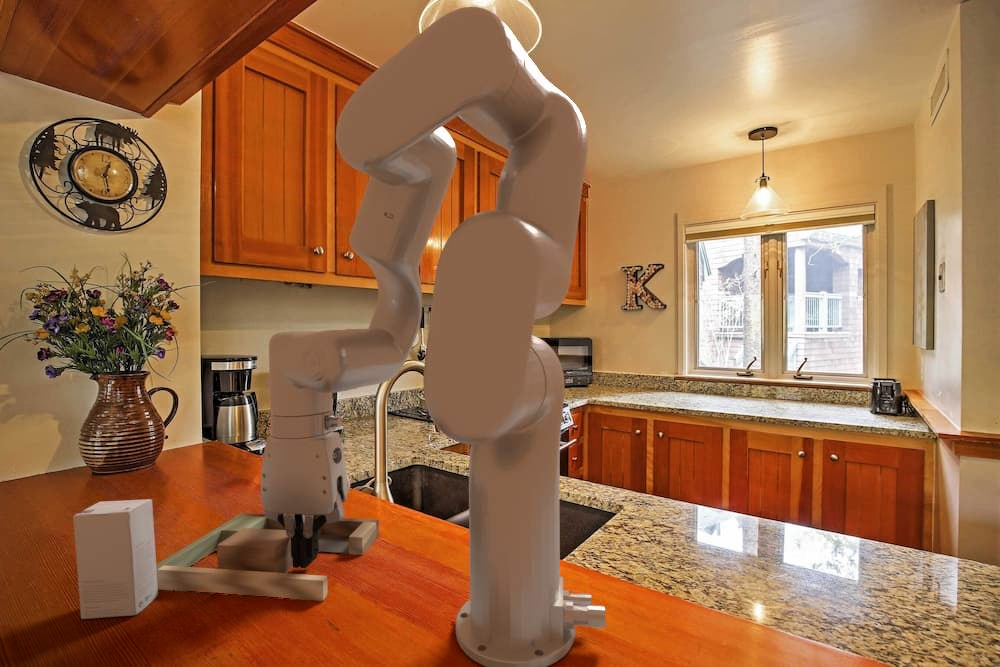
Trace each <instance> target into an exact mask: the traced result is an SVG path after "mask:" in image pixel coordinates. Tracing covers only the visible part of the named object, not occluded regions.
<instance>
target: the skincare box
mask: <svg viewBox="0 0 1000 667" xmlns="http://www.w3.org/2000/svg"><path fill="white" fill-rule="evenodd" d="M153 508H154V507H153V499H151V498H150V499H149V498H148V499H131V500H130V499H129V500H127V499H126V500H107V501H98V502H97V503H94V504H93V505H91V506H89V507H87V508H84V509H83V510H81V511H80V512H77V513H76V514H74V515H73V516H72V520H73V521H72V522H73V530H74V534H73V535H74V541H75V543H74V544H75V556H76V569H77V571H76V572H77V581H78V582H77V583H78V584H77V585H78V595H79V596H78V597H79V610H80V612H79V613H80V618H81V619H82V620H86V619H100V618H101V619H102V618H103V619H104V618H114V617H129V616H136V615H138V614H139V613H141V612H142V611H143V610H144V609H145V608H146V607H148V606H149V605H150V604H151V603H152V602H153V601H154V600H155V599H156V598H157V597H158V596H159V589H158V586H157V569H156V564H157V558H156V557H157V556H156V553H157V552H156V542H155V526H154V514H153V513H154V511H153V510H154V509H153Z"/></svg>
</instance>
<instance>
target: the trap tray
mask: <svg viewBox="0 0 1000 667" xmlns="http://www.w3.org/2000/svg"><path fill="white" fill-rule="evenodd" d="M379 521H380V520H379V519H377V518H376V519H375V518H374V519H370V518H353V517H352V518H351V517H343V518H342V519H341V520H339V521H338V522H333V523H328V524H324V525H323V526H322V528H321V529H319V530H318V541H319V551H320V552H332V553H331V554H336V553H341V554H340V555H356V556H357V555H358V556H363V555H364V554H365V553H366V552H367V551H368V549H369V548H370V547H371V546H372V545H373V543H375V541H376V540H377V539H378V537H379V536H380V522H379ZM243 528H254V529H273V530H285V528H284V527H283V526H282V525H281V524H280V523H279V521H275V520H272V519H269V518H266V517H265V516H264V513H263V514H262V513H251V512H250V513H247V512H245V513H244V512H241V513H240V514H238V515H236V516H234V517H233V518H231V519H230V520H228V521H226V522H225V523H222V524H221V525H220V526H218V527H216V528H214V529H213V530H211V531H209V532H208V533H206V534H205V535H203V536H201V537H199V538H198V539H196V540H195V541H192V542H191V543H190V544H188V545H186V546H185V547H183V548H181V549H180V550H177V551H176V552H175V553H173V554H171V555H169V556H168V557H166V558H165V559H163V560H161V561H160V562H158V563H156V569H157V586H158V591H159V590H160V591H161V590H162V591H173V590H175V592H187V591H210V592H218V593H229V594H231V593H232V594H240V595H239V596H242V595H260V596H261V595H262V596H271V597H272V596H273V597H279V598H278V599H283V598H290V599H289V600H297V599H298V600H299V599H300V600H301V601H311V600H319V601H318V602H323V601H322V600H324V599H325V598H326V597H327V595H328V575H320V574H319V575H317V574H304V573H303V574H302V573H301V574H300V573H288V572H287V573H274V572H259V571H243V570H228V569H218V568H210V567H209V568H208V567H196V566H195V567H194V566H192V567H189V566H191V565H193V564H194V563H196V562H197V561H199V560H200V559H202V558H203V557H204V556H206V555H207V554H209V553H211V552H212V551H214V550H215V549H217V545H218V544H220V543H221V542H223V541H224V540H226V539H227V538H229V537H230V536H232V535H233V534H235V533H237V532H238V531H240V530H241V529H243ZM333 552H334V553H333ZM178 590H179V591H178ZM241 594H242V595H241ZM280 597H281V598H280ZM327 598H328V597H327ZM327 598H326V599H327ZM326 599H325V600H326ZM300 600H299V601H300ZM325 600H324V601H325Z"/></svg>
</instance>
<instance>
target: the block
mask: <svg viewBox="0 0 1000 667" xmlns="http://www.w3.org/2000/svg"><path fill="white" fill-rule="evenodd" d="M216 551H217V569H228V570H243V571H259V572H274V573H286V572H287V571H288V570H289V569H290V568H291V567H292V566H293V558H292V557H291V537H288V536H287V535H286V530H273V529H254V528H243V529H241V530H240V531H238V532H237V533H235V534H233V535H232V536H230V537H229V538H227V539H226V540H224V541H223V542H221V543H220V544H218V545H217V550H216ZM291 569H292V568H291ZM291 569H290V570H291ZM290 570H289V571H290ZM289 571H288V572H289ZM288 572H287V573H288Z"/></svg>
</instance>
